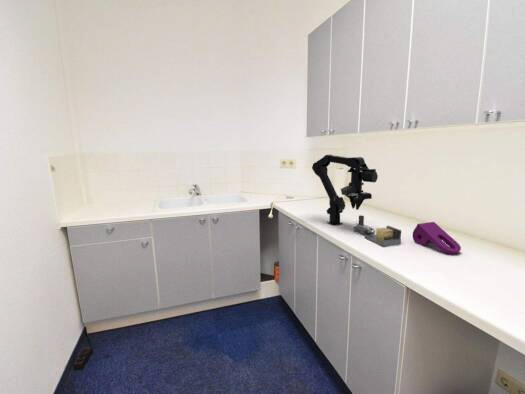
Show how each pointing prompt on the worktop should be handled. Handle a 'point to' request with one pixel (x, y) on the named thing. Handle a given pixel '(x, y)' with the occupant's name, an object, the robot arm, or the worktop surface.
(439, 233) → the mounting bracket
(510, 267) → the worktop surface
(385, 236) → the block
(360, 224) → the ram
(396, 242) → the frame
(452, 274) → the worktop surface
